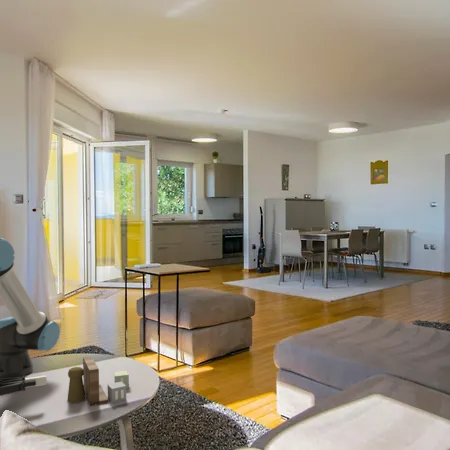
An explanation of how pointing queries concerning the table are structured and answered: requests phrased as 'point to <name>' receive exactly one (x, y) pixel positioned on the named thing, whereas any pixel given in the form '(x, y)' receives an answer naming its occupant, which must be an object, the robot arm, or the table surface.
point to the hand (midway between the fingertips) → (46, 380)
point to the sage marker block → (122, 377)
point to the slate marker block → (116, 392)
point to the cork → (76, 385)
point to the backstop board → (92, 383)
